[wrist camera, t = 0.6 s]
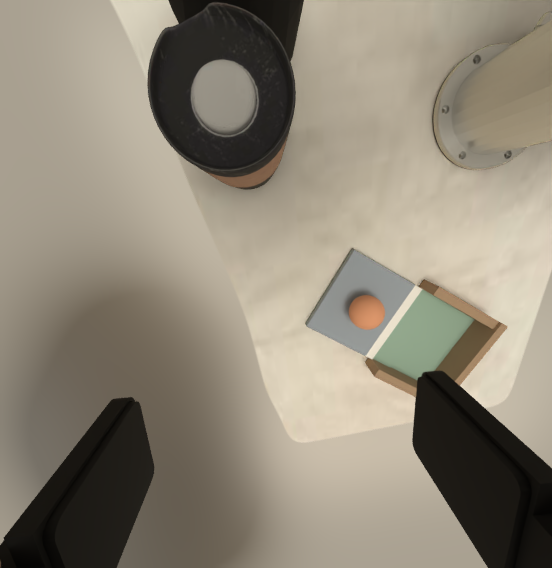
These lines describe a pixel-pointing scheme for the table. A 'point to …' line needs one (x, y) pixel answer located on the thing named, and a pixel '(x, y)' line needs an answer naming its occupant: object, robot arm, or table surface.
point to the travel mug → (224, 94)
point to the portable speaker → (262, 3)
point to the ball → (366, 312)
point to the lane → (405, 325)
